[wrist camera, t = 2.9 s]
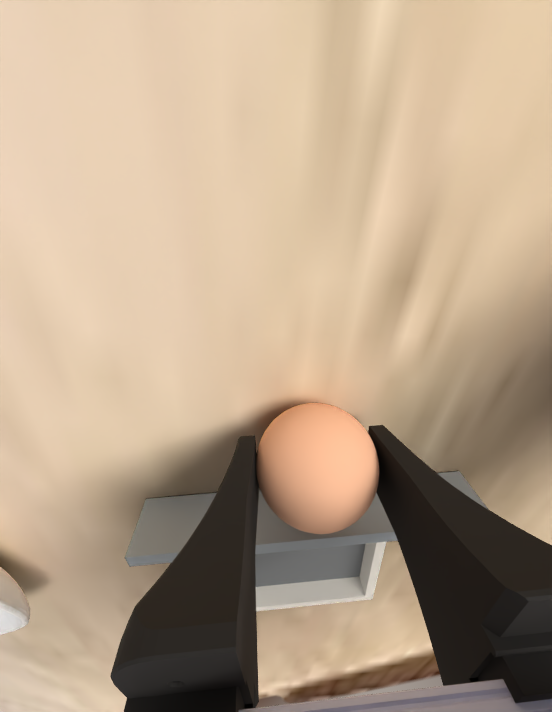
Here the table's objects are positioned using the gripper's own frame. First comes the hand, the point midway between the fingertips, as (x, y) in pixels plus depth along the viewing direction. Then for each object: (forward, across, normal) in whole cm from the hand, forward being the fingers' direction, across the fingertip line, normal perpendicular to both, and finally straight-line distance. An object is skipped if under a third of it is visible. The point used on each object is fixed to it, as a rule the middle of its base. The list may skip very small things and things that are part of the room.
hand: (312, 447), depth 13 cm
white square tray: (+2, 0, +11) cm, 11 cm away
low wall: (+2, 0, +5) cm, 5 cm away
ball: (-1, 0, 0) cm, 1 cm away
